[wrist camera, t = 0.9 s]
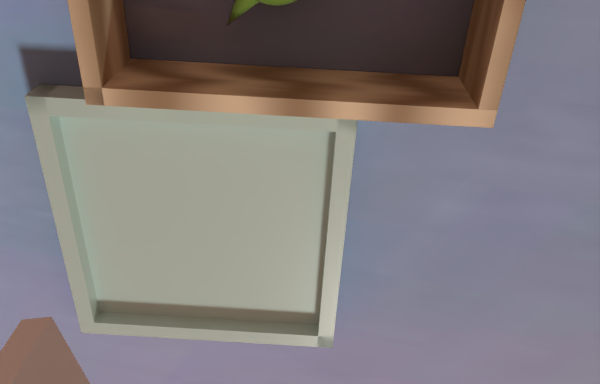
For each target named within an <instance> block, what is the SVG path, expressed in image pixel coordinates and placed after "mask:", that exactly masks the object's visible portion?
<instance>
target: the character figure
mask: <svg viewBox="0 0 600 384" xmlns="http://www.w3.org/2000/svg"><path fill="white" fill-rule="evenodd" d="M295 1H297V0H235V1H234V4H233V7H232V10H231V14H230V17H229V20H228V23H227V26H228V25H229V24H230V23H232V22H233V21H234V20H236V19H237V18H238V17H240V16H241V15H242V14H244V13H245V12H246V11H248V10H249V9H250V8H252V7H253V6H254V5H256V4H257V3H259V2H260V3H263V4H266V5H273V6H282V5H287V4H290V3H293V2H295Z"/></svg>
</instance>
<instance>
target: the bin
mask: <svg viewBox="0 0 600 384" xmlns="http://www.w3.org/2000/svg"><path fill="white" fill-rule="evenodd" d="M525 2H526V0H474V4H473V9H472V14H471V18H470V23H469V28H468V33H467V38H466V42H465V47H464V52H463V57H462V61H461V66H460V71H459V76H458V77H453V76H435V75H417V74H399V73H381V72H363V71H346V70H328V69H310V68H292V67H274V66H257V65H239V64H221V63H203V62H185V61H168V60H150V59H132V58H130V51H129V43H128V35H127V27H126V19H125V11H124V3H123V0H68V6H69V11H70V17H71V22H72V28H73V34H74V39H75V45H76V51H77V56H78V62H79V68H80V73H81V79H82V84H83V90H84V96H85V101H86V105H101V106H119V107H136V108H154V109H172V110H189V111H207V112H224V113H242V114H259V115H277V116H295V117H312V118H330V119H347V120H365V121H383V122H400V123H418V124H435V125H453V126H470V127H488V128H493V126H494V122H495V118H496V114H497V110H498V106H499V102H500V99H501V95H502V91H503V87H504V83H505V79H506V75H507V71H508V68H509V64H510V60H511V56H512V52H513V48H514V44H515V40H516V37H517V33H518V29H519V25H520V21H521V17H522V13H523V9H524V6H525Z"/></svg>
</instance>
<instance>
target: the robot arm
mask: <svg viewBox="0 0 600 384" xmlns="http://www.w3.org/2000/svg"><path fill="white" fill-rule="evenodd" d="M0 384H90V383H89V381H88V379H87V378H86V376H85V374H84V372H83V371H82V369H81V367H80V365H79V364H78V362H77V360H76V359H75V357H74V355H73V353H72V352H71V350H70V348H69V346H68V345H67V343H66V341H65V340H64V338H63V336H62V334H61V333H60V331H59V329H58V327H57V326H56V324H55V322H54V321H53V319H52V317H45V318H35V319H25V320H21V322H20V323H19V325H18V326H17V328H16V329H15V331H14V332H13V334H12V335H11V337H10V338H9V340H8V341H7V343H6V344H5V346H4V347H3V349H2V350H1V352H0Z"/></svg>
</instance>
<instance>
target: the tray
mask: <svg viewBox="0 0 600 384" xmlns="http://www.w3.org/2000/svg"><path fill="white" fill-rule="evenodd" d="M25 100H26V104H27V108H28V112H29V116H30V120H31V125H32V129H33V133H34V137H35V141H36V145H37V150H38V154H39V158H40V162H41V166H42V170H43V174H44V179H45V183H46V187H47V191H48V195H49V199H50V204H51V208H52V212H53V216H54V220H55V224H56V229H57V233H58V237H59V241H60V245H61V249H62V254H63V258H64V262H65V266H66V270H67V274H68V279H69V283H70V287H71V291H72V295H73V299H74V304H75V308H76V312H77V316H78V320H79V324H80V329H81V333H95V334H112V335H129V336H145V337H162V338H178V339H195V340H212V341H228V342H245V343H261V344H278V345H295V346H311V347H328V348H332V346H333V337H334V328H335V319H336V310H337V301H338V292H339V283H340V274H341V264H342V255H343V246H344V237H345V228H346V219H347V210H348V201H349V192H350V183H351V174H352V165H353V156H354V147H355V138H356V129H357V120H347V119H330V118H312V117H295V116H277V115H259V114H242V113H224V112H207V111H189V110H172V109H154V108H136V107H119V106H101V105H86V101H85V96H84V90H83V87H81V86H64V85H46V84H39V85H38V86H37V87H35V88H34V89H33V90H32V91H30V92H29V93H28V94H27V95H25Z"/></svg>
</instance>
